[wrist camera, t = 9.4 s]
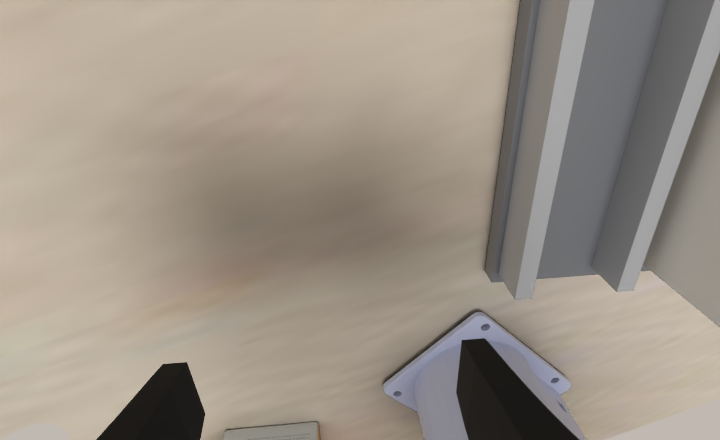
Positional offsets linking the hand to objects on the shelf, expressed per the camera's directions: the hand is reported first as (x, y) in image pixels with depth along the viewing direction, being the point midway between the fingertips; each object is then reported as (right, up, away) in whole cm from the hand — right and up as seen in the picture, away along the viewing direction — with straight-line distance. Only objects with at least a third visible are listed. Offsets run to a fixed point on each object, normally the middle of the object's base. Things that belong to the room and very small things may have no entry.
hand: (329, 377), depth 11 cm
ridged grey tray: (+13, +8, +7) cm, 17 cm away
